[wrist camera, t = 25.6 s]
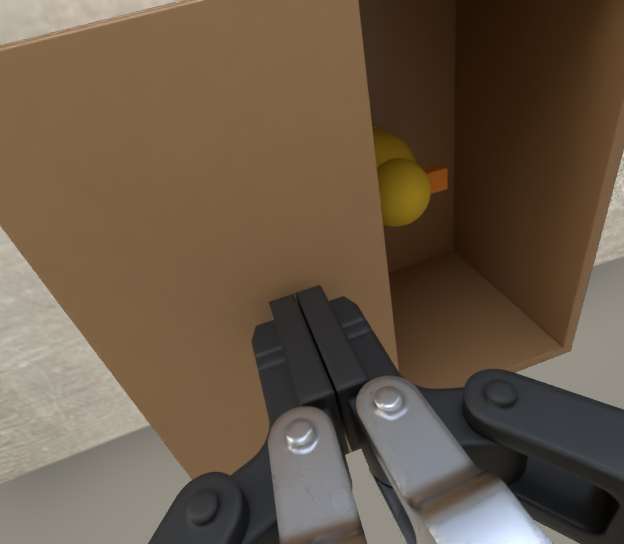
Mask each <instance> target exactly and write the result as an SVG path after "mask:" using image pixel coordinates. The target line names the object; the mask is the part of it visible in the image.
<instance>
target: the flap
mask: <svg viewBox="0 0 624 544" xmlns="http://www.w3.org/2000/svg"><path fill="white" fill-rule="evenodd" d="M0 226H1V227H2V229H3V230H4V231H5V233H6V234H7V235H8V237H9V238H10V239H11V241H12V242H13V243H14V245H15V246H16V247H17V249H18V250H19V251H20V253H21V254H22V255H23V257H24V258H25V259H26V261H27V262H28V263H29V265H30V266H31V267H32V269H33V270H34V271H35V272H36V274H37V275H38V276H39V278H40V279H41V280H42V282H43V283H44V284H45V286H46V287H47V288H48V290H49V291H50V292H51V294H52V295H53V296H54V298H55V299H56V300H57V302H58V303H59V304H60V306H61V307H62V308H63V310H64V311H65V312H66V314H67V315H68V316H69V318H70V319H71V320H72V322H73V323H74V324H75V326H76V327H77V328H78V329H79V331H80V332H81V333H82V335H83V336H84V337H85V339H86V340H87V341H88V343H89V344H90V345H91V347H92V348H93V349H94V351H95V352H96V353H97V355H98V356H99V357H100V359H101V360H102V361H103V363H104V364H105V365H106V367H107V368H108V369H109V371H110V372H111V373H112V375H113V376H114V377H115V379H116V380H117V381H118V382H119V384H120V385H121V386H122V388H123V389H124V390H125V392H126V393H127V394H128V396H129V397H130V398H131V400H132V401H133V402H134V404H135V405H136V406H137V408H138V409H139V410H140V412H141V413H142V414H143V416H144V417H145V418H146V420H147V421H148V422H149V424H150V425H151V426H152V428H153V429H154V430H155V432H156V433H157V434H158V435H159V437H160V438H161V439H162V441H163V442H164V443H165V445H166V446H167V447H168V449H169V450H170V451H171V453H172V454H173V455H174V457H175V458H176V459H177V461H178V462H179V463H180V465H181V466H182V467H183V469H184V470H185V471H186V473H187V474H188V475H189V477H190V478H191V479H192V480H193V479H195V478H196V477H198V476H200V475H202V474H205V473H209V472H223V473H226V474H228V475H231V474H233V473H234V472H235V471H237V470H238V469H239V468H240V467H242V466H243V465H244V464H246V463H247V462H248V461H250V460H251V459H252V458H253V457H254V456H255V455H256V454H257V453H258V452H259V450H260V449H261V448H262V446H263V444H264V443H265V441H266V438H267V435H268V431H269V417H268V413H267V408H266V404H265V400H264V395H263V391H262V386H261V382H260V377H259V373H258V369H257V364H256V360H255V355H254V351H253V346H252V342H251V341H252V337H253V334H254V330H255V327H256V326H257V325H260V324H263V323H266V322H269V321H272V320H274V318H273V315H272V311H271V308H270V305H269V302H270V301H273V300H276V299H279V298H282V297H285V296H288V295H291V294H294V296H295V299H296V295H295V293H296V292H299V291H302V290H305V289H308V288H311V287H314V286H317V285H320V286H321V287H322V289H323V291H324V293H325V295H326V297H327V299H328V301H330V300H333V299H336V298H339V297H342V296H344V297H346V298H348V299H349V300H351V301H352V302H354V303H355V304H357V305H358V307H359V308H360V310H361V311H362V313H363V315H364V316H365V319H366V320H367V321H368V323H369V325H370V326H371V328H372V331H374V333H375V334H376V336H377V338H378V339H379V341H380V342H381V344H382V346H383V347H384V349H385V351H386V352H387V354H388V356H389V357H390V359H391V360H392V362H393V364H394V365H395V367H396V369H397V370H398V372H399V367H398V358H397V349H396V340H395V331H394V322H393V312H392V303H391V294H390V285H389V276H388V267H387V258H386V248H385V239H384V230H383V221H382V212H381V203H380V193H379V184H378V175H377V166H376V157H375V148H374V138H373V129H372V120H371V111H370V102H369V93H368V83H367V74H366V65H365V56H364V47H363V38H362V29H361V19H360V10H359V1H358V0H194V1H190V2H186V3H182V4H178V5H174V6H170V7H166V8H162V9H158V10H154V11H150V12H146V13H142V14H138V15H134V16H130V17H126V18H122V19H117V20H113V21H109V22H105V23H101V24H97V25H93V26H89V27H85V28H81V29H77V30H73V31H69V32H65V33H61V34H57V35H53V36H49V37H45V38H41V39H37V40H33V41H29V42H24V43H20V44H16V45H12V46H8V47H4V48H0ZM296 301H297V299H296ZM297 304H298V303H297ZM345 437H346V435H345ZM346 441H347V445H348V449H349V453H351V452H353V451H352V450H351V448H350V445H349V443H348V440H347V438H346ZM360 449H361V448H360ZM355 451H356V450H355ZM345 455H346V454H345Z"/></svg>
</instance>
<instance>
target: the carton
mask: <svg viewBox="0 0 624 544" xmlns="http://www.w3.org/2000/svg"><path fill="white" fill-rule="evenodd" d="M190 1H194V0H182V1H178V2H174V3H170V4H166V5H162V6H158V7H154V8H150V9H146V10H142V11H138V12H134V13H130V14H125V15H121V16H117V17H113V18H109V19H105V20H101V21H97V22H93V23H89V24H85V25H81V26H77V27H73V28H69V29H65V30H61V31H57V32H52V33H48V34H44V35H40V36H36V37H32V38H28V39H24V40H20V41H16V42H12V43H8V44H4V45H0V48H4V47H8V46H12V45H16V44H20V43H24V42H29V41H33V40H37V39H41V38H45V37H49V36H53V35H57V34H61V33H65V32H69V31H73V30H77V29H81V28H85V27H89V26H93V25H97V24H101V23H105V22H109V21H113V20H117V19H122V18H126V17H130V16H134V15H138V14H142V13H146V12H150V11H154V10H158V9H162V8H166V7H170V6H174V5H178V4H182V3H186V2H190ZM358 1H359V10H360V19H361V29H362V38H363V47H364V56H365V65H366V74H367V83H368V93H369V102H370V111H371V120H372V123H373V124H374V125H376V128H378V129H382V130H386V131H389V132H391V133H393V134H395V135H397V136H398V137H399V138H401V139H402V140H403V141H404V142H405V143H406V144H407V145H408V146H409V148H410V149H411V151H412V153H413V155H414V157H415V159H416V162H417V164H418V165H419V166H420V167H421V168H422V169H425V168H428V167H431V166H435V165H438V164H442V165H444V166H445V167H447V168H448V188H447V189H446V190H443V191H440V192H437V193H433V194H431V195H430V200H429V203H428V206H427V208H426V209H425V211H424V212H423V214H422V215H421V216H420V217H419V218H417V219H416V220H415V221H413V222H411V223H409V224H407V225H403V226H394V227H392V226H387V225H383V230H384V239H385V248H386V258H387V267H388V276H389V285H390V294H391V303H392V312H393V322H394V331H395V340H396V349H397V358H398V367H399V373H400V374H401V375H402V376H403V377H404V378H405V379H406V380H408V381H409V382H411V383H413V384H415V385H418V386H420V387H424V388H431V389H443V388H460V387H464V386H465V383H466V381H467V380H468V378H469V377H470V376H472V375H473V374H475V373H476V372H479V371H481V370H485V369H503V370H507V371H511V372H514V373H515V372H517V371H520V370H523V369H525V368H528V367H531V366H533V365H536V364H538V363H541V362H544V361H546V360H549V359H551V358H554V357H557V356H559V355H562V354H565V353H567V352H570V351H571V348H572V343H573V340H574V337H575V332H576V329H577V325H578V321H579V317H580V313H581V310H582V306H583V302H584V299H585V295H586V291H587V287H588V283H589V279H590V276H591V272H592V268H593V264H594V260H595V257H596V253H597V249H598V245H599V241H600V238H601V234H602V230H603V226H604V222H605V219H606V215H607V211H608V207H609V203H610V200H611V196H612V192H613V188H614V184H615V180H616V177H617V173H618V169H619V165H620V161H621V158H622V154H623V150H624V0H358Z"/></svg>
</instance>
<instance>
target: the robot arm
mask: <svg viewBox="0 0 624 544" xmlns="http://www.w3.org/2000/svg"><path fill="white" fill-rule="evenodd" d="M295 295H296V299H297V301H296V299H295V296H294V294H291V295H288V296H285V297H282V298H279V299H276V300H273V301H270V302H269V305H270V308H271V311H272V315H273V318H274V320H272V321H269V322H266V323H263V324H260V325H257V326H256V327H255V330H254V334H253V337H252V341H251V342H252V346H253V351H254V355H255V360H256V364H257V369H258V373H259V377H260V382H261V386H262V391H263V395H264V400H265V404H266V408H267V413H268V417H269V431H268V435H267V438H266V441H265V443H264V444H263V446H262V448H261V449H260V450H259V452H258V453H257V454H256V455H255V456H254V457H253V458H252V459H251V460H250V461H248V462H247V463H246V464H244V465H243V466H242V467H240V468H239V469H238V470H237V471H235V472H234V473H233V474H231V475H228V474H226V473H223V472H209V473H205V474H202V475H200V476H198V477H196V478H195V479H193V480H192V481H190V482H189V483H188V484H187V485H186V486H185V487H184V488H183V489H182V490H181V491H180V493H179V494H178V495H177V497H176V498H175V500H174V502H173V503H172V505H171V507H170V508H169V510H168V512H167V513H166V515H165V517H164V518H163V520H162V522H161V523H160V525H159V527H158V528H157V530H156V531H155V533H154V535H153V537H152V538H151V540H150V542H149V543H148V544H367V541H366V538H365V534H364V531H363V528H362V524H361V520H360V517H359V513H358V510H357V506H356V503H355V499H354V496H353V492H352V479H351V476H350V472H349V468H348V465H347V461H346V457H345V454H348V453H349V449H348V445H347V441H346V438H347V440H348V443H349V445H350V448H351V450H352V451H355V450H358V449H360V448H361V449H362V451H363V454H364V456H365V458H366V461H367V463H368V466H369V470H370V475H371V478H372V481H373V483H374V485H375V487H376V489H377V491H378V493H379V495H380V497H381V499H382V501H383V503H384V505H385V507H386V509H387V511H388V513H389V515H390V517H391V519H392V521H393V523H394V525H395V527H396V529H397V531H398V533H399V535H400V536H401V539H402V541H403V543H404V544H552V543H551V541H550V540H549V539H548V538H547V536H546V535H545V534H544V532H543V531H542V530H541V529H540V527H539V526H538V525H537V524H536V522H535V521H537V522H539V523H541V524H543V525H545V526H547V527H549V528H551V529H553V530H555V531H557V532H559V533H561V534H563V535H564V536H566V537H568V538H570V539H573V540H574V541H576V542H578V543H580V544H624V410H623V409H620V408H617V407H614V406H611V405H608V404H605V403H602V402H599V401H596V400H593V399H591V398H588V397H585V396H582V395H579V394H576V393H573V392H570V391H567V390H564V389H561V388H558V387H555V386H552V385H549V384H546V383H543V382H540V381H537V380H534V379H531V378H528V377H525V376H522V375H519V374H517V373H514V372H511V371H507V370H503V369H485V370H481V371H479V372H476V373H475V374H473V375H472V376H470V377H469V378H468V380H467V381H466V383H465V386H464V387H460V388H443V389H431V388H424V387H420V386H418V385H415V384H413V383H411V382H409V381H408V380H406V379H405V378H404V377H403V376H402V375H401V374H400V373H399V372H398V370H397V369H396V367H395V365H394V364H393V362H392V360H391V359H390V357H389V356H388V354H387V352H386V351H385V349H384V347H383V346H382V344H381V342H380V341H379V339H378V338H377V336H376V334H375V333H374V331H372V328H371V326H370V325H369V323H368V321H367V320H366V319H365V316H364V315H363V313H362V311H361V310H360V308H359V307H358V305H357V304H355V303H354V302H352V301H351V300H349V299H348V298H346V297H344V296H342V297H339V298H336V299H333V300H330V301H328V299H327V297H326V295H325V293H324V291H323V289H322V287H321V286H320V285H317V286H314V287H311V288H308V289H305V290H302V291H299V292H296V293H295ZM297 303H298V304H297ZM345 435H346V437H345ZM534 520H535V521H534Z"/></svg>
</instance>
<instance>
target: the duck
mask: <svg viewBox="0 0 624 544" xmlns="http://www.w3.org/2000/svg"><path fill="white" fill-rule="evenodd" d="M372 129H373V138H374V148H375V157H376V166H377V175H378V184H379V193H380V203H381V212H382V221H383V225H387V226H392V227H394V226H403V225H407V224H409V223H411V222H413V221H415V220H416V219H417V218H419V217H420V216H421V215H422V214H423V212H424V211H425V209H426V208H427V206H428V203H429V200H430V195H431V194H433V193H437V192H440V191H443V190H446V189H447V188H448V168H447V167H445V166H444V165H442V164H438V165H435V166H431V167H428V168H425V169H422V168H421V167H420V166H419V165H418V164H417V162H416V159H415V157H414V155H413V153H412V151H411V149H410V148H409V146H408V145H407V144H406V143H405V142H404V141H403V140H402V139H401V138H399V137H398V136H397V135H395V134H393V133H391V132H389V131H386V130H382V129H378V128H376V125H374V124H373V123H372Z"/></svg>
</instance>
